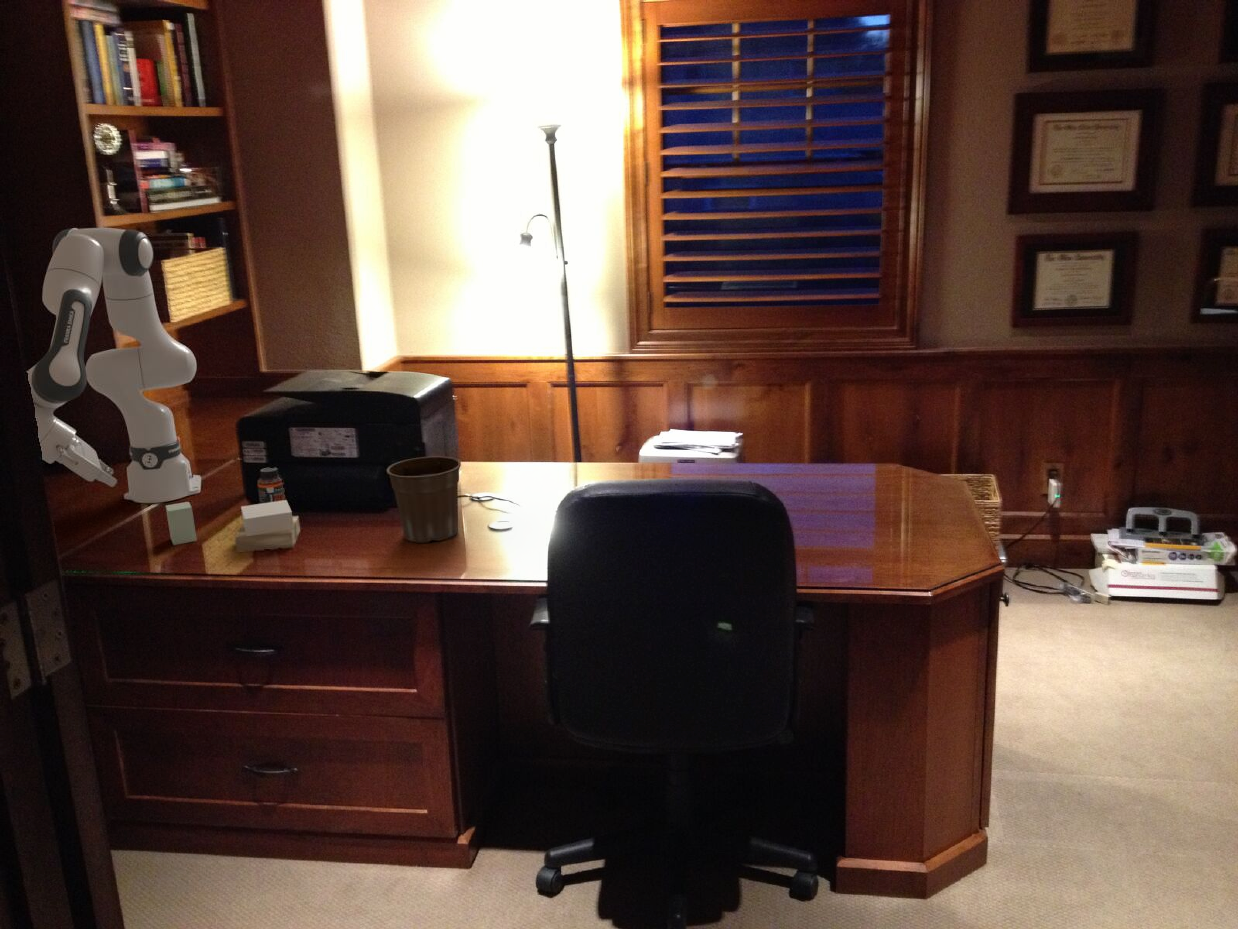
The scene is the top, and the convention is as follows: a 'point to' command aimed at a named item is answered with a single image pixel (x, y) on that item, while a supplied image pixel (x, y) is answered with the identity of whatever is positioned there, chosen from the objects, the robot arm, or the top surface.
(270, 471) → the supplement bottle
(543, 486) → the top surface
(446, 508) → the plant pot
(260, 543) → the maple base slab
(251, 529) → the white top slab
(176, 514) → the sage block
